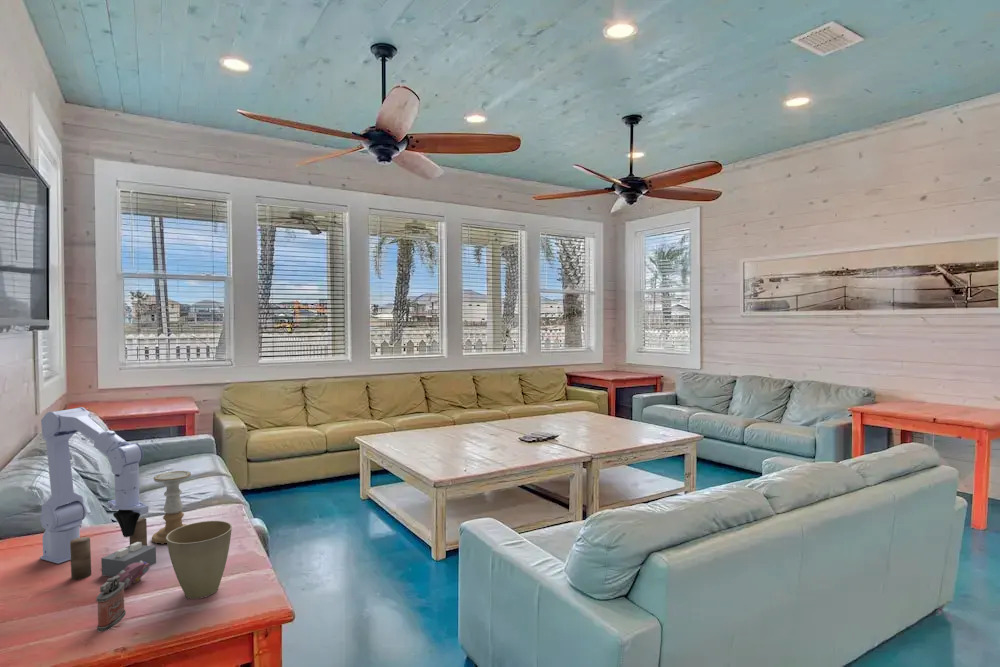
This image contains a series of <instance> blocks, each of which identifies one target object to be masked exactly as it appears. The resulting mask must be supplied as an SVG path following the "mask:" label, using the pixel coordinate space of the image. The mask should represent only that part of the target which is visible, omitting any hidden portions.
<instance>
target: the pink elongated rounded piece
mask: <svg viewBox="0 0 1000 667" xmlns="http://www.w3.org/2000/svg"><path fill="white" fill-rule="evenodd" d="M150 568H151V566H150V564H148V563H146V562H143V561H142V560H141V561H140V562H139V563H132V564H130V565H128V566H127V567H126V568H125V569H124V570H122V571H120V573H118V574H117V575H116V576H120V580H119V582H124V583H125V587H124V590H126V589H127V588H129V586H131V584H132V583H133V584H136V583H138V582H139V581H140V580H141V578H142V577H143V576H144V575H145V574H146V573H147V572H148V571H149V570H150Z"/></svg>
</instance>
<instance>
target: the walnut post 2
mask: <svg viewBox="0 0 1000 667" xmlns="http://www.w3.org/2000/svg"><path fill="white" fill-rule="evenodd" d="M147 530H148V527H147V518H145V517H139V519H138V521H137V524H136V527H135V531H134V535H132V536H129V537H128V538H129V539H128V541H129V546H130V545H131V544H133V543H136V542H142V545H146V546H148V531H147Z"/></svg>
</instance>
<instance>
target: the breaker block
mask: <svg viewBox="0 0 1000 667" xmlns="http://www.w3.org/2000/svg"><path fill="white" fill-rule="evenodd" d="M156 548H157V547H156V546H153V545H147V546H146V545H142V542H136V543H133V544H131V545H130V544H129V545H128V546H126V547H122V548H120V549H118V550H116V551H114V552H112V553H111V554H108V555H106V556H103V557H101V576H104V577H110V578H113V577H114V576H116V575H117V574H118V573H120V571H122V570H124V569H125V568H126V567H127V566H128V565H130V564H132V563H139V562H140V561H141V560H142V561H143V562H146V563H148V564H150V567H151V566H154V565H155V564H156V563H157V549H156Z"/></svg>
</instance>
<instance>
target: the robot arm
mask: <svg viewBox="0 0 1000 667" xmlns="http://www.w3.org/2000/svg"><path fill="white" fill-rule="evenodd" d="M40 422H41V432H42V439H43V440H44V441H45V444H46V445H45V447H46V455H47V465H48V475H49V485H50V497H49V498H48V499H47V500H46V501H45V502H43V503H42V505H41V514H40V517H39V519H40V520H39V522H40V525H41V526H42V528H43V529H44V530H45V531H44V532H43V535H42V556H39V559H40V558H41V559H40V560H44V561H47V562H51V563H55V564H58V565H59V564H62V563H65V562H68V561H71V552H70V541H72V540H74V539H76V538H81V536H80V535H81V534H80V533H81V531H80V525H81V524H83V520H84V519H85V518H86V517H87V506H86V505H85V503H84V497H83V496H82V495H81V494H78V493H76V492H74V484H73V473H72V472H73V471H72V463H71V462H72V461H71V454H70V452H71V451H70V444H69V440H71V438H72V437H73V435H75V434H77V433H79V434H82V435H84V436H85V437H87V438H89V439H90V440H92V441H93V445H94V448H96V449H97V450H98V451H100V452H101V453H102V454H104V455H105V456H106V457H108V462H109V465H110V467H111V472H112V474H114V496H115V497H114V499H111V500H108V501H107V508H108V509H111V510H112V511H116V512H114V513H113V517H114V518H115V519H116V521H117V523H118V525H119V527H120V530H121V533H122V537H123V538H129V536H132V535H134V531H135V527H136V524H137V521H138V519H139V518H141V515H144V514H147V513H149V505H148V504H145V503H144V502H142V501H141V500H140V498H141V497H140V467H139V464H140V463H141V462H142V460H143V459H144V449H143V448H142V446H141V445H140V444H139V443H138V442H127V441H126V440H125V439H124V438H123V437H121V436H120V435H118V434H117V433H116V432H115V431H114V430H104V429H103V428H102V427H101V426H99V425H98V424H97V422H95V421H94V420H93V419H92V417H91V412H90V411H88V410H87V409H86V408H85V407H83V406H79V407H75V408H69V409H64V410H55V411H47V412H46V413H45V414H44V416H43V417H42V418H41V419H40Z"/></svg>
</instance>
